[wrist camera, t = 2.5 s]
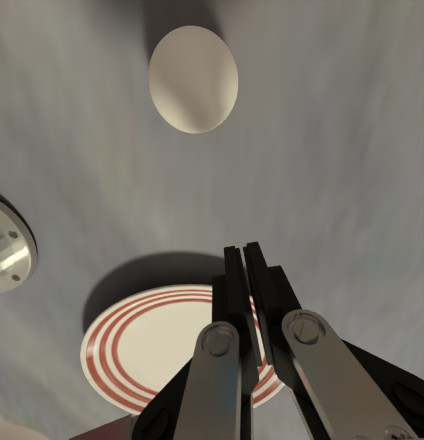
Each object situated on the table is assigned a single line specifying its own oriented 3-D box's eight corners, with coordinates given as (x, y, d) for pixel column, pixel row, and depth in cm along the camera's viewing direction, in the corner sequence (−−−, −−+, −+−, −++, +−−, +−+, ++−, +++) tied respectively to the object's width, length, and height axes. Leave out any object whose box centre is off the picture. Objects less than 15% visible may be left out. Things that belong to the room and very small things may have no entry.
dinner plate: (331, 329, 28) (346, 353, 25) (214, 418, 37) (215, 444, 34) (156, 224, 22) (148, 239, 19) (63, 362, 30) (47, 388, 27)
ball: (171, 140, 18) (155, 143, 13) (149, 58, 16) (117, 20, 10) (238, 124, 18) (252, 120, 12) (225, 38, 15) (235, -14, 10)
